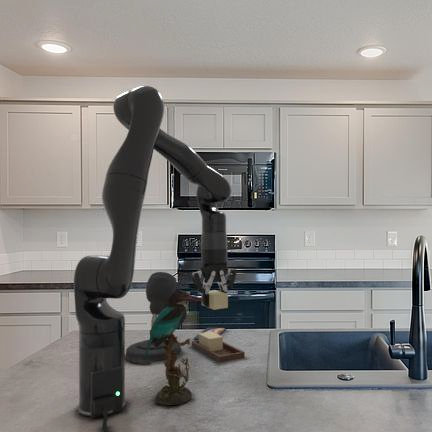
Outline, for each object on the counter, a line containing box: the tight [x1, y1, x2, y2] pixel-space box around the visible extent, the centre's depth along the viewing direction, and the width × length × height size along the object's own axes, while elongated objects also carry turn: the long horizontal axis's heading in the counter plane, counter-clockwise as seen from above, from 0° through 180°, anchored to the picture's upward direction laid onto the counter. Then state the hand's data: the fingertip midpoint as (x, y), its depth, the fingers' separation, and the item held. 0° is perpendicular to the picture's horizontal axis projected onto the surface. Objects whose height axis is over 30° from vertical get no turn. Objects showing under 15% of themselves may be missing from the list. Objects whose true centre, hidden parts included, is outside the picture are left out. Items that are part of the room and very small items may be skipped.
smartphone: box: [193, 327, 227, 341], centre depth 157 cm, size 8×1×15 cm
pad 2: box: [198, 331, 224, 351], centre depth 141 cm, size 8×4×4 cm, turn 35°
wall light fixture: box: [125, 271, 182, 365], centre depth 138 cm, size 16×25×20 cm
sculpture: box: [143, 289, 205, 406], centre depth 103 cm, size 8×14×25 cm, turn 86°
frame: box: [191, 340, 246, 363], centre depth 137 cm, size 20×8×2 cm, turn 35°
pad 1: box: [201, 289, 229, 311], centre depth 131 cm, size 8×4×4 cm, turn 36°
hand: (214, 305), depth 131 cm, fingers closed on pad 1, 4 cm apart
